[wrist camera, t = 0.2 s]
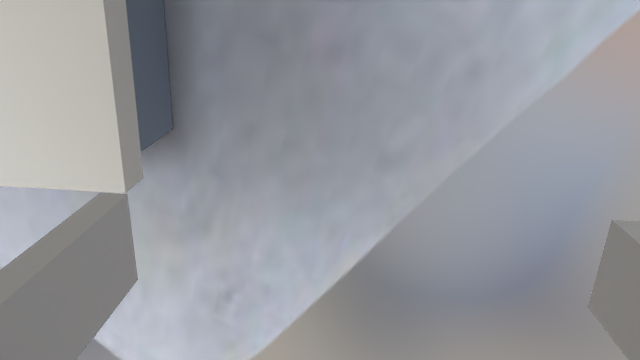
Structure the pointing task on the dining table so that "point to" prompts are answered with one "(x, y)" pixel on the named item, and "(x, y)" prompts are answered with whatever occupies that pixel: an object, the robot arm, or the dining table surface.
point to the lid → (67, 96)
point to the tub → (150, 69)
